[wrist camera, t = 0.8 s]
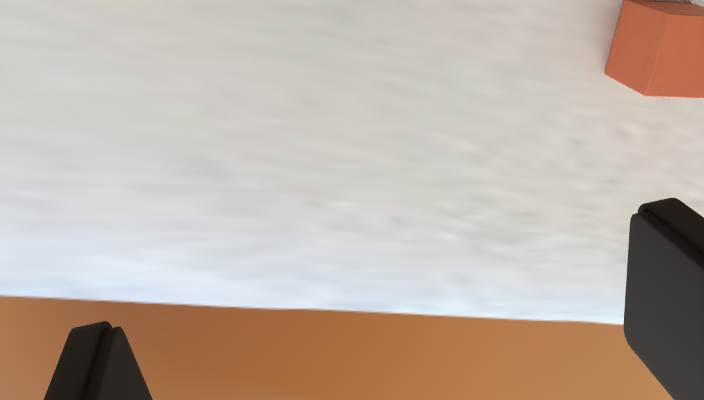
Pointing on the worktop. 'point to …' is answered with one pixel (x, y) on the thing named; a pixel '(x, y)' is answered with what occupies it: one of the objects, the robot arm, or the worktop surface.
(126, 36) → the worktop surface
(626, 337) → the robot arm
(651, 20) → the block
